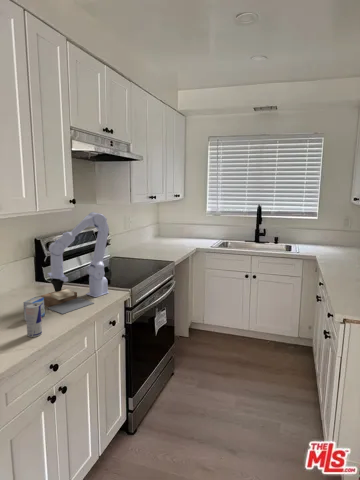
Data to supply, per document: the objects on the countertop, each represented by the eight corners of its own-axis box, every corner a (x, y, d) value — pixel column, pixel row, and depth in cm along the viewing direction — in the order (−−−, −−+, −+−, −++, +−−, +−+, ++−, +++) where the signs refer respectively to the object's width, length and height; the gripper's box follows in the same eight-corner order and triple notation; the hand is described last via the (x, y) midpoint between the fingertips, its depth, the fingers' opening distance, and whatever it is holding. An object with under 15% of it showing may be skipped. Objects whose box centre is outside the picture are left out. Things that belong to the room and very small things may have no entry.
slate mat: (78, 298, 172) (78, 297, 172) (94, 303, 165) (94, 302, 165) (47, 308, 158) (47, 307, 158) (62, 314, 151) (62, 313, 151)
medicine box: (33, 322, 142) (31, 302, 140) (24, 320, 143) (23, 301, 142) (45, 315, 149) (44, 297, 148) (36, 314, 151) (35, 296, 149)
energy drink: (45, 332, 132) (43, 303, 130) (36, 338, 127) (34, 308, 125) (33, 330, 134) (31, 302, 132) (24, 336, 129) (22, 307, 127)
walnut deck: (65, 294, 177) (65, 288, 177) (77, 298, 171) (76, 292, 171) (37, 303, 164) (37, 296, 164) (49, 307, 158) (49, 300, 158)
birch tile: (67, 292, 170) (66, 289, 169) (74, 295, 166) (74, 291, 166) (51, 297, 163) (51, 293, 162) (58, 300, 159) (58, 296, 159)
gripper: (41, 265, 165) (42, 292, 168) (58, 270, 157) (59, 298, 159) (53, 263, 171) (55, 288, 173) (71, 267, 163) (72, 294, 165)
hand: (58, 292), depth 167 cm, fingers closed
